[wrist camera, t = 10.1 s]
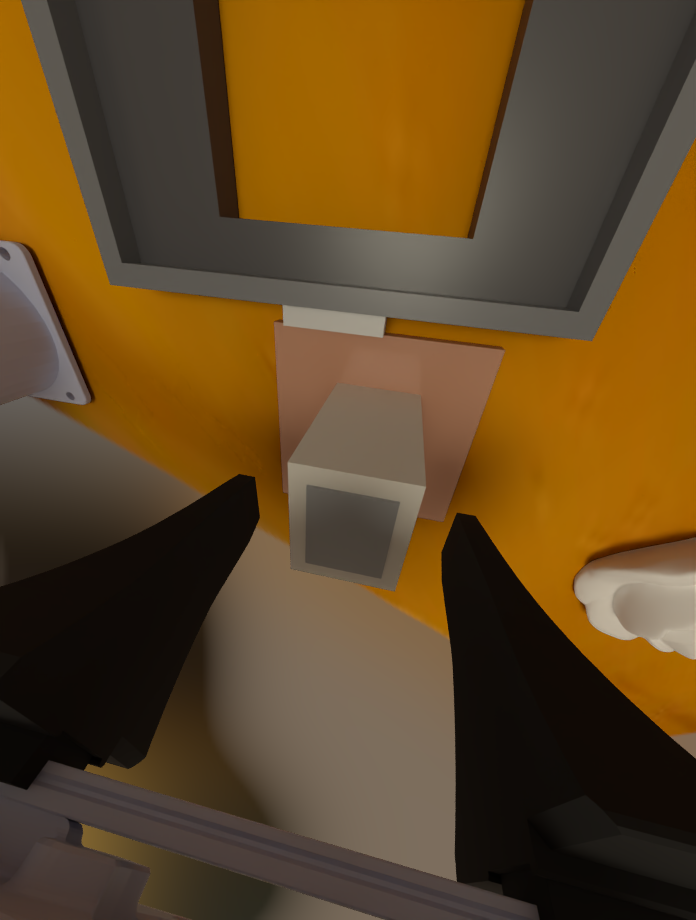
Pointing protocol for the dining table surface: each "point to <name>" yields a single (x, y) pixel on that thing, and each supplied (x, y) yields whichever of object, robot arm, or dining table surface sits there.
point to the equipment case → (369, 251)
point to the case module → (357, 486)
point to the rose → (644, 595)
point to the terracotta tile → (396, 369)
